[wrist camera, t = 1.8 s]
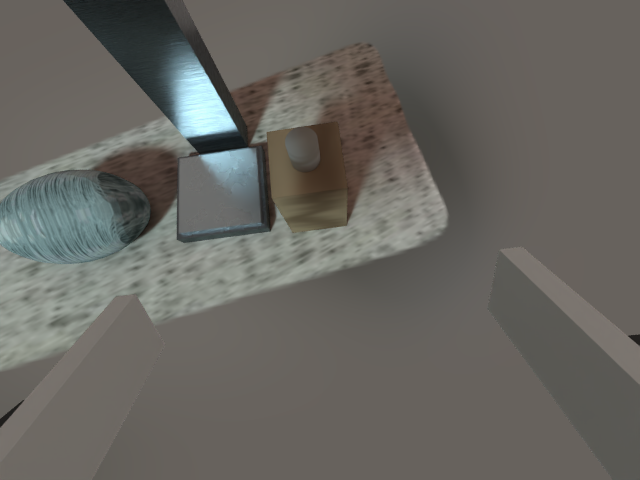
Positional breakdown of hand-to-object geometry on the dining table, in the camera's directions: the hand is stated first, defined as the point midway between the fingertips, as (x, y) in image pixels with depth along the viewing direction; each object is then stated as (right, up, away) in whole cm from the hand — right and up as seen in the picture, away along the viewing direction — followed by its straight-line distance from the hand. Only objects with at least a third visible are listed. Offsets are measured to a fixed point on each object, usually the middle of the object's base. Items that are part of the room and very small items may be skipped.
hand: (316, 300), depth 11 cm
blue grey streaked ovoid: (-25, +4, +24) cm, 35 cm away
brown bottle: (0, +6, +22) cm, 23 cm away
